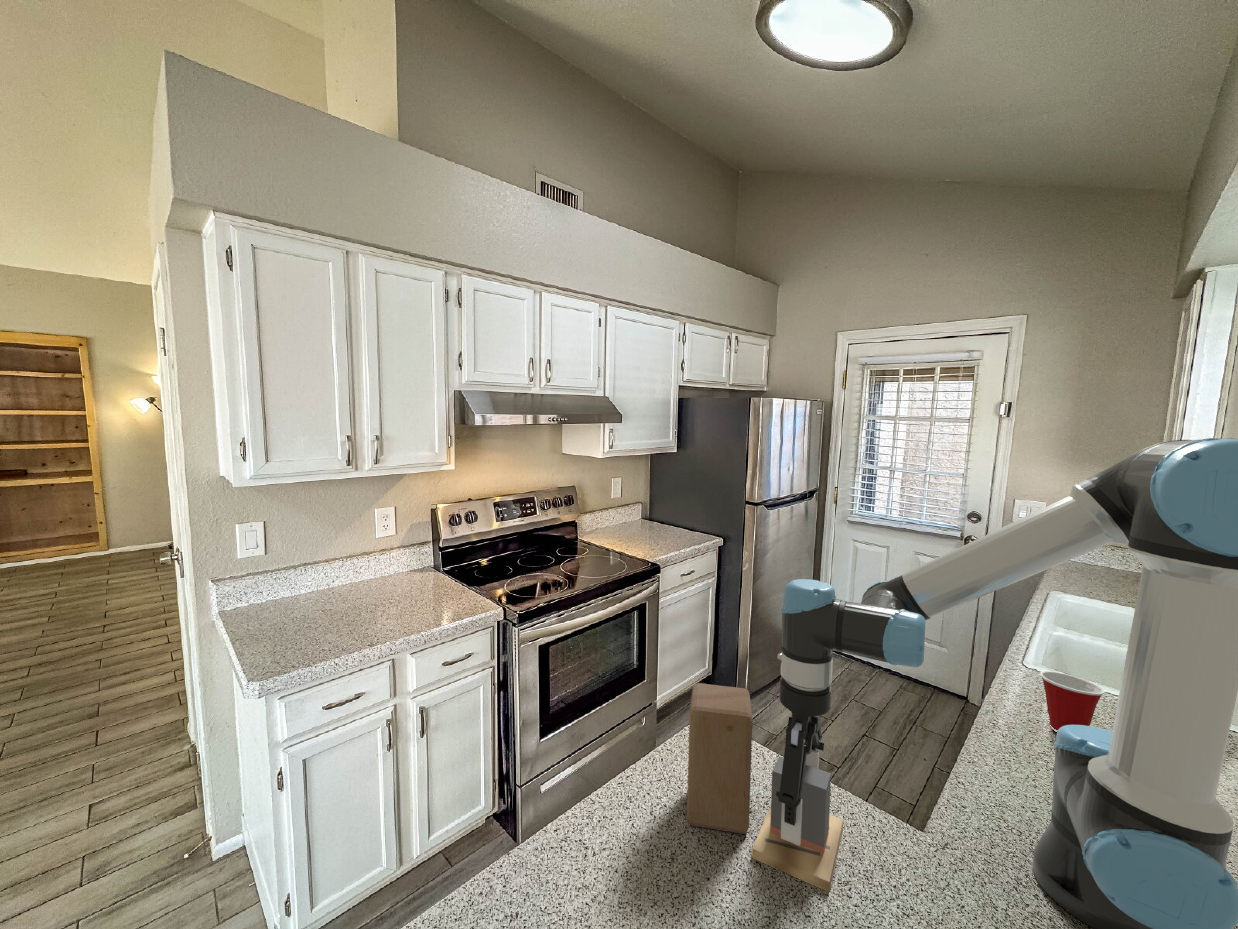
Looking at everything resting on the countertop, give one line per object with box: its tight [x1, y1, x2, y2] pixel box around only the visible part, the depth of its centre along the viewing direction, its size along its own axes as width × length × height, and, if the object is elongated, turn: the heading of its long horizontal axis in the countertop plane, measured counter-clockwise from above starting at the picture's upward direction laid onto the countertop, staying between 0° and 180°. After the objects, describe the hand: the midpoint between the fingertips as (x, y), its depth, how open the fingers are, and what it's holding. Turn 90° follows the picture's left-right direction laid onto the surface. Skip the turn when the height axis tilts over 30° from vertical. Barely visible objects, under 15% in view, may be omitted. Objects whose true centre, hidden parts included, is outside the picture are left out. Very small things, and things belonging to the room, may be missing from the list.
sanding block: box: [770, 755, 832, 854], centre depth 80 cm, size 8×4×10 cm, turn 59°
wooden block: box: [686, 682, 753, 835], centre depth 87 cm, size 10×10×20 cm
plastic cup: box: [1039, 671, 1106, 730], centre depth 113 cm, size 11×11×12 cm
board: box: [751, 805, 844, 893], centre depth 81 cm, size 11×14×2 cm
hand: (800, 812), depth 80 cm, fingers open, 13 cm apart
